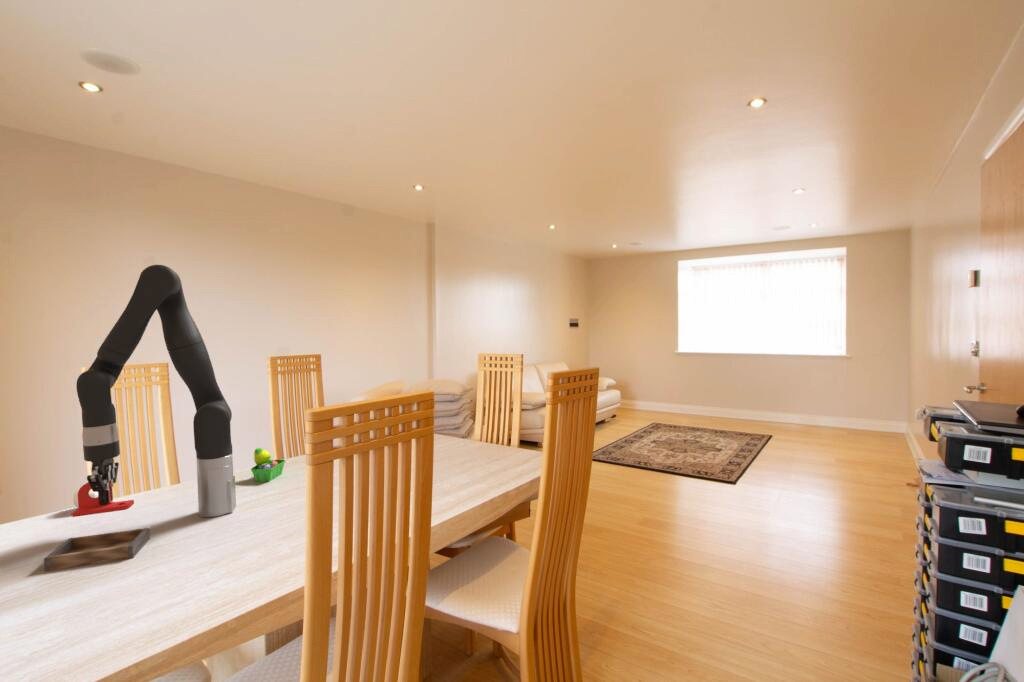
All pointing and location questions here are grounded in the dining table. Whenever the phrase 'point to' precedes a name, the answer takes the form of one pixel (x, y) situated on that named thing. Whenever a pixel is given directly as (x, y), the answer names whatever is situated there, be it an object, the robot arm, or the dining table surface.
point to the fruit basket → (266, 466)
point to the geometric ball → (91, 494)
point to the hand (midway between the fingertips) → (106, 502)
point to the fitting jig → (97, 549)
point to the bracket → (97, 503)
